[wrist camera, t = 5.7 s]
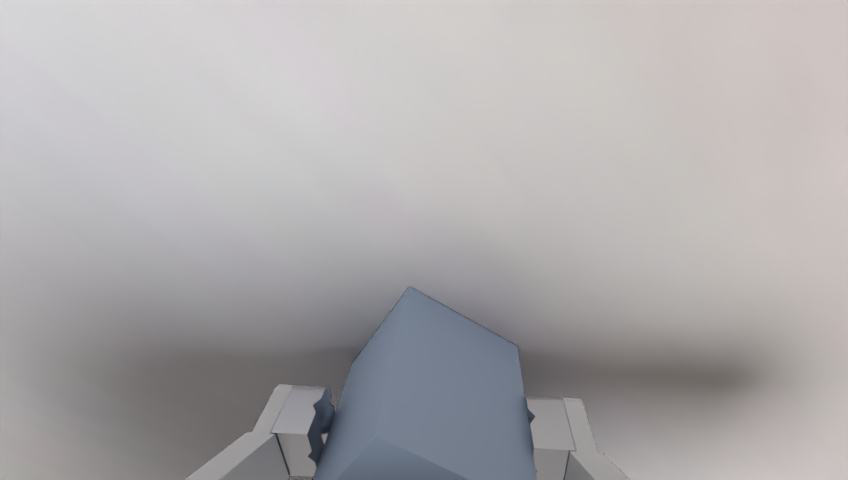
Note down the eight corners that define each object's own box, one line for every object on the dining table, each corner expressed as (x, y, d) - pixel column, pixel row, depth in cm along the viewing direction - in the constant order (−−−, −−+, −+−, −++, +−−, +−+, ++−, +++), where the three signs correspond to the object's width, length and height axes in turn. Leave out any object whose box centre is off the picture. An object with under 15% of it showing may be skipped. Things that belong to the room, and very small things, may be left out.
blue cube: (448, 413, 15) (440, 580, 10) (351, 364, 14) (298, 521, 10) (517, 346, 13) (542, 513, 9) (409, 286, 12) (375, 435, 8)
